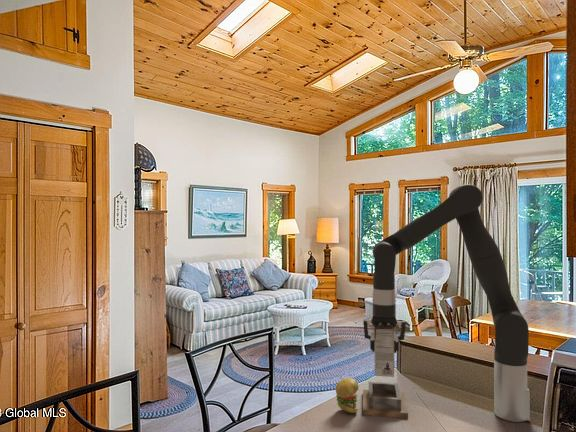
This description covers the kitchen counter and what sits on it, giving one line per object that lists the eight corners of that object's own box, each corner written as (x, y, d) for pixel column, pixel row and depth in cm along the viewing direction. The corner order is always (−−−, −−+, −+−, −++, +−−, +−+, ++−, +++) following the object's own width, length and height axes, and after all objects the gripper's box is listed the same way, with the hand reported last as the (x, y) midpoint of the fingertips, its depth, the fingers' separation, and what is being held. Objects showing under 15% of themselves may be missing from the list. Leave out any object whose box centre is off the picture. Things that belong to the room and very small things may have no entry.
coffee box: (374, 366, 148) (374, 319, 148) (393, 367, 147) (393, 320, 147) (374, 376, 139) (374, 326, 139) (394, 377, 138) (394, 327, 138)
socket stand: (403, 396, 150) (403, 382, 150) (408, 418, 134) (408, 402, 134) (362, 393, 152) (362, 379, 152) (362, 414, 136) (362, 399, 136)
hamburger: (363, 415, 136) (363, 377, 136) (343, 419, 133) (343, 381, 133) (350, 405, 143) (350, 369, 143) (331, 409, 140) (331, 372, 140)
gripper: (405, 300, 145) (405, 349, 145) (362, 298, 148) (362, 347, 148) (407, 305, 138) (407, 356, 138) (362, 303, 140) (362, 354, 140)
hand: (384, 351), depth 143 cm, fingers closed on coffee box, 6 cm apart
